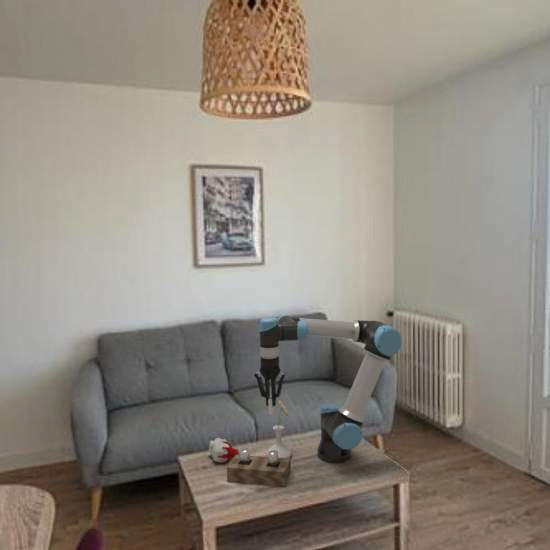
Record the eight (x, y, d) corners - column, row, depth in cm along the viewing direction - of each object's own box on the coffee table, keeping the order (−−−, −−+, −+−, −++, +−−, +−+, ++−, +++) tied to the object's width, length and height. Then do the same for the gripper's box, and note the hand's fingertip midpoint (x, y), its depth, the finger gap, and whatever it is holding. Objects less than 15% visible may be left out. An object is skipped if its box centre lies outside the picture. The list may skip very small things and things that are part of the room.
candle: (208, 453, 230) (241, 457, 228) (202, 464, 219) (236, 469, 217) (210, 434, 229) (242, 438, 228) (204, 444, 218) (238, 449, 216)
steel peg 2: (279, 463, 207) (278, 450, 206) (276, 467, 203) (276, 454, 202) (269, 462, 208) (269, 449, 207) (267, 467, 204) (266, 454, 203)
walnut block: (291, 472, 210) (290, 458, 210) (284, 486, 198) (284, 472, 198) (236, 467, 216) (235, 454, 215) (227, 481, 204) (226, 467, 204)
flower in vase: (287, 464, 218) (286, 408, 215) (263, 461, 221) (261, 406, 219) (296, 451, 230) (294, 398, 228) (272, 448, 233) (270, 396, 231)
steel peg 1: (251, 461, 209) (250, 448, 209) (248, 465, 206) (248, 452, 205) (242, 460, 210) (241, 447, 210) (239, 464, 207) (238, 451, 206)
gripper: (287, 354, 203) (288, 411, 205) (256, 353, 206) (258, 409, 208) (283, 359, 196) (285, 417, 198) (251, 358, 199) (253, 416, 201)
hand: (271, 413), depth 203 cm, fingers closed
